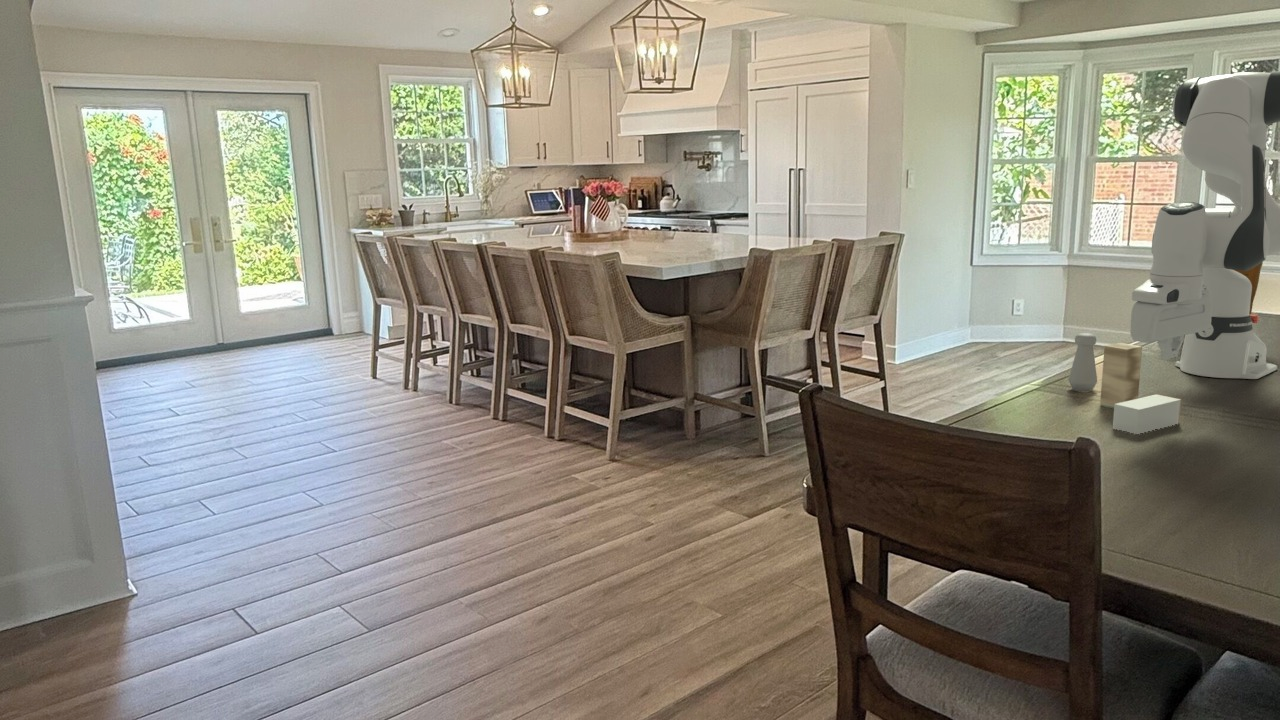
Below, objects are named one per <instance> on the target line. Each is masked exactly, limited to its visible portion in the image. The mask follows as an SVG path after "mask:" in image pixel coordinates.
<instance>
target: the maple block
mask: <svg viewBox="0 0 1280 720" xmlns="http://www.w3.org/2000/svg"><path fill="white" fill-rule="evenodd" d="M1103 349H1104V350H1103V362H1102V375H1101V388H1100V389H1101V390H1100V404H1099V406H1100V405H1101V406H1100V407H1104V406H1105V408H1110V409H1113V410H1114V404H1117V403H1121V402H1126V401H1130V400H1134V399H1138V398H1139V392H1140V390H1139V389H1140V378H1141V365H1142V353H1143V346H1140V345H1135V344H1131V343H1129V344H1128V343H1123V342H1117V343H1112V344H1106V345H1104V348H1103Z"/></svg>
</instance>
